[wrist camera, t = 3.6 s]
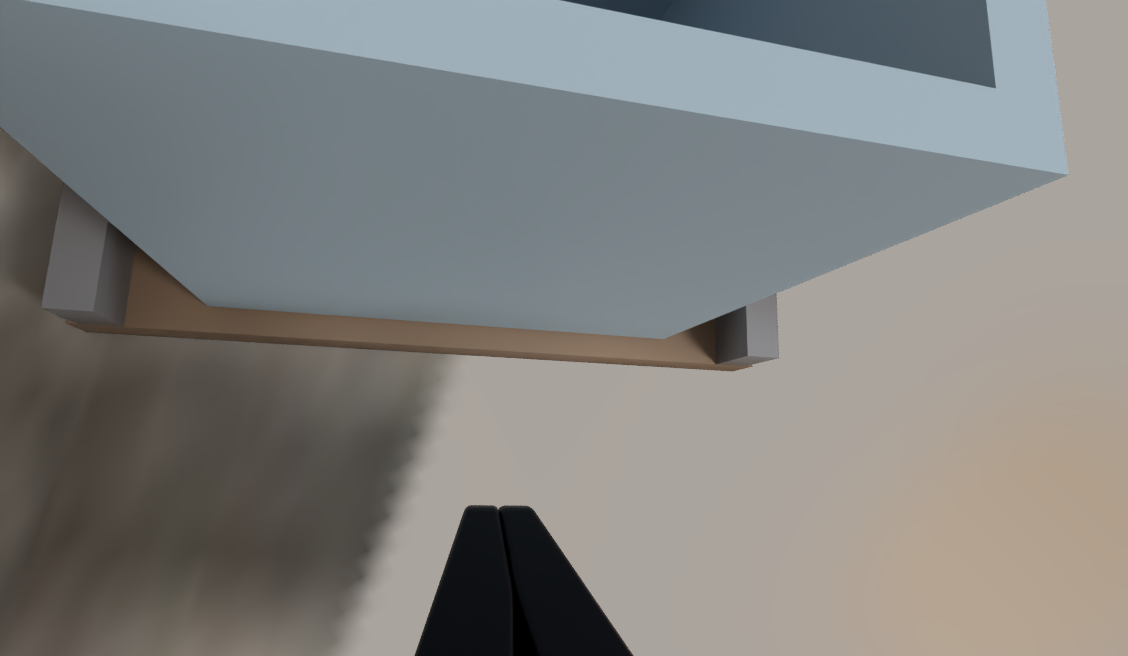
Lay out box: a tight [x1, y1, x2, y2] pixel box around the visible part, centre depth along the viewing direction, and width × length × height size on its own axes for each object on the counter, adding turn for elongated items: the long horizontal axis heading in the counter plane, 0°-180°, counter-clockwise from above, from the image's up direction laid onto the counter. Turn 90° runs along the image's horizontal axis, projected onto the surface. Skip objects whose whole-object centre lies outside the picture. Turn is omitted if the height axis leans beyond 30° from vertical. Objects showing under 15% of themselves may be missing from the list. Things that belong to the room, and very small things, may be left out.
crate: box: [0, 0, 1069, 339], centre depth 11 cm, size 8×10×10 cm
